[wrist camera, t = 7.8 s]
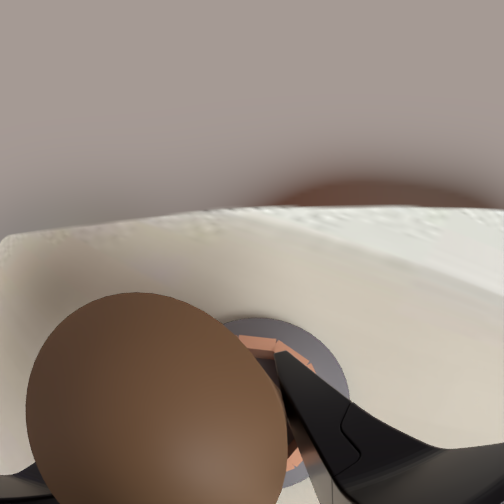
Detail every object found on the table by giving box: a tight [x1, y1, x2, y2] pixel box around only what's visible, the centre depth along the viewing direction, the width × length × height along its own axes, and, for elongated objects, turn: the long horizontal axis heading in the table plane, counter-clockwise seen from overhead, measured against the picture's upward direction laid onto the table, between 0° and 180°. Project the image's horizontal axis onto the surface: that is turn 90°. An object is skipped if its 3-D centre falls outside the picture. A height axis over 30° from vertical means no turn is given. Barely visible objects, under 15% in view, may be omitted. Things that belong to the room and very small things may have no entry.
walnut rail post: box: [26, 292, 288, 504], centre depth 8 cm, size 4×4×12 cm
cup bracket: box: [223, 318, 350, 488], centre depth 14 cm, size 11×11×4 cm
